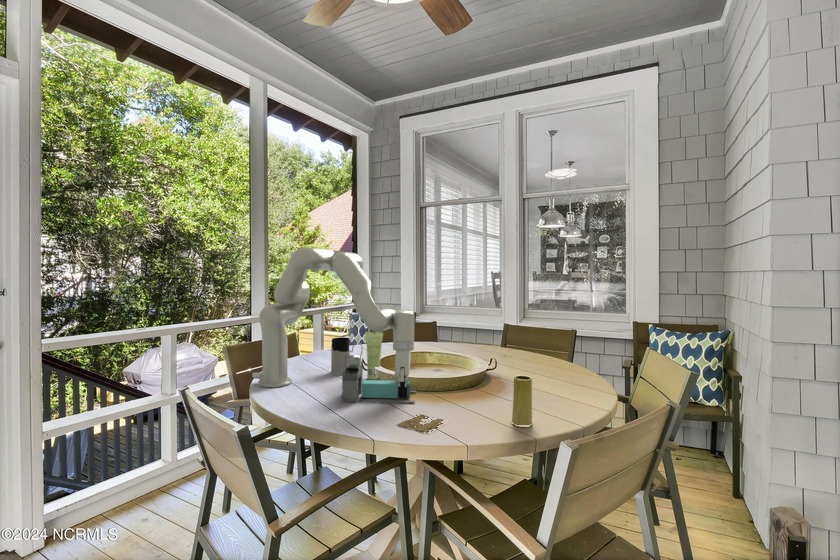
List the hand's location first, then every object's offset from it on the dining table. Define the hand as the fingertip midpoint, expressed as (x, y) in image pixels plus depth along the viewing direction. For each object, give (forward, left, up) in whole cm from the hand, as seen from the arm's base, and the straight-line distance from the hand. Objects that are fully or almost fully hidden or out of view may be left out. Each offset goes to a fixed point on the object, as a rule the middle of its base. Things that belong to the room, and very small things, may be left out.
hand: (402, 395), depth 155 cm
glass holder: (-27, +33, -1) cm, 42 cm away
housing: (-18, 0, -1) cm, 18 cm away
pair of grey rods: (-2, 0, -1) cm, 2 cm away
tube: (-14, +25, -1) cm, 28 cm away
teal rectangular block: (-6, 0, 0) cm, 6 cm away
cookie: (+7, -25, -1) cm, 26 cm away
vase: (+37, -24, -1) cm, 44 cm away
